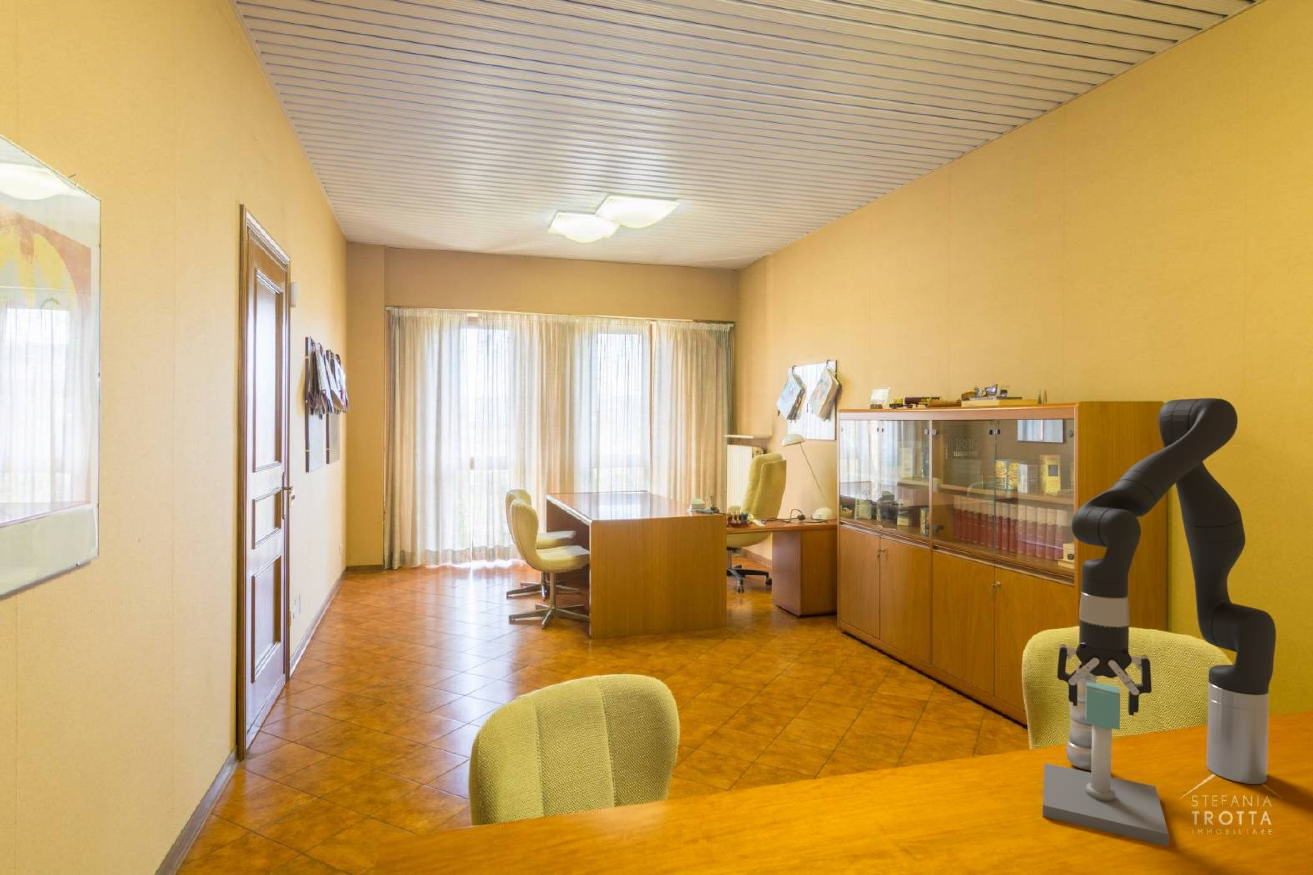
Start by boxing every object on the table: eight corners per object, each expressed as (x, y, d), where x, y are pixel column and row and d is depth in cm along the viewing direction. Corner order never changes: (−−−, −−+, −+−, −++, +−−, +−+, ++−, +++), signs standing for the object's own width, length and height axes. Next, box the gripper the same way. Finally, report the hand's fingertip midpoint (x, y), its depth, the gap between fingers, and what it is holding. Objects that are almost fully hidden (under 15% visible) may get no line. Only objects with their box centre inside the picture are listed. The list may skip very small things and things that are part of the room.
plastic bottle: (1093, 760, 147) (1094, 662, 147) (1110, 776, 140) (1112, 674, 140) (1059, 758, 148) (1061, 661, 147) (1075, 774, 141) (1077, 672, 141)
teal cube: (1085, 714, 132) (1085, 681, 132) (1117, 719, 130) (1118, 686, 130) (1086, 723, 128) (1086, 690, 128) (1119, 729, 125) (1120, 695, 125)
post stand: (1044, 773, 141) (1045, 682, 141) (1155, 796, 133) (1157, 699, 132) (1042, 816, 126) (1044, 713, 125) (1168, 846, 117) (1170, 736, 116)
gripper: (1149, 619, 128) (1148, 709, 129) (1058, 609, 135) (1056, 694, 135) (1154, 629, 122) (1152, 725, 122) (1058, 618, 129) (1056, 708, 129)
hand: (1102, 709), depth 129 cm, fingers open, 8 cm apart
